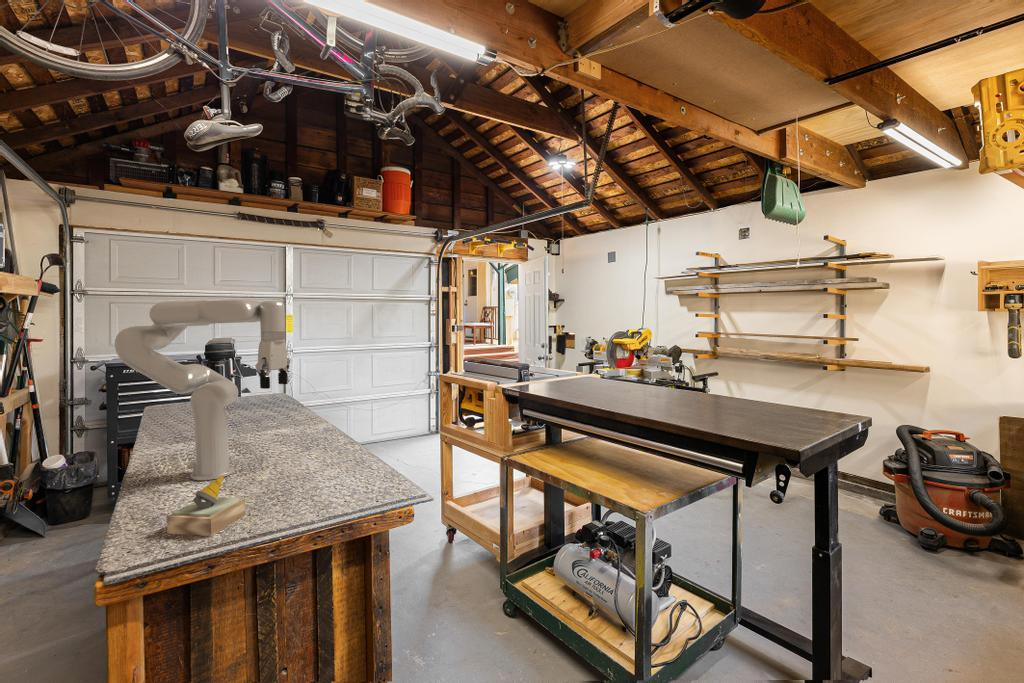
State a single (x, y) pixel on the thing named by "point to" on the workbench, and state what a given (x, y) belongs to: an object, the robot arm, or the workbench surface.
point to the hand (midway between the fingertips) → (274, 386)
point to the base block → (206, 517)
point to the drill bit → (208, 494)
